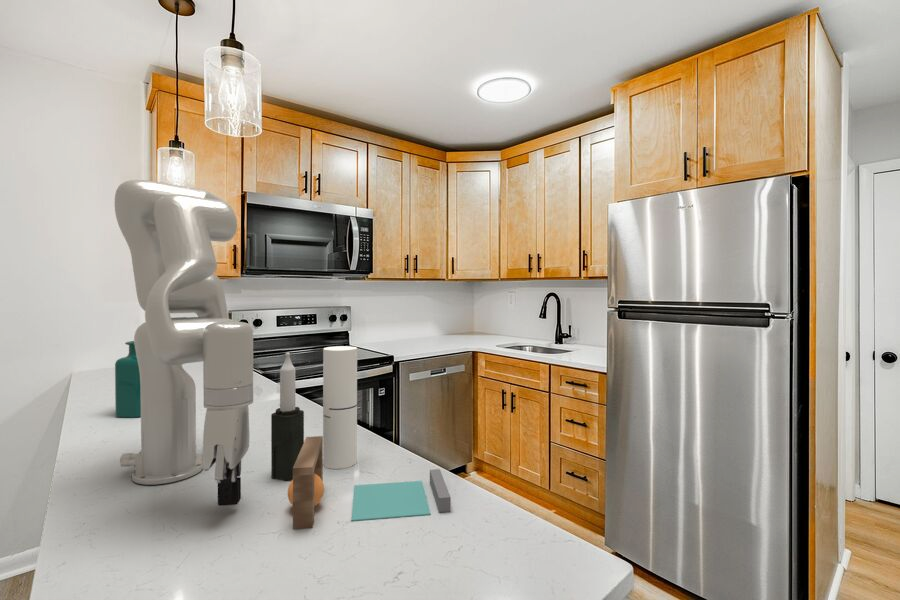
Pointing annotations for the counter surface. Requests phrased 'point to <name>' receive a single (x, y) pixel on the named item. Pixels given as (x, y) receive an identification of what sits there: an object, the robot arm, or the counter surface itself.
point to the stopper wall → (440, 491)
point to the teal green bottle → (127, 385)
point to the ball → (317, 490)
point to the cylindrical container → (339, 406)
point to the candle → (286, 426)
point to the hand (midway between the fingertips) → (229, 502)
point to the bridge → (306, 481)
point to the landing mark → (389, 500)
